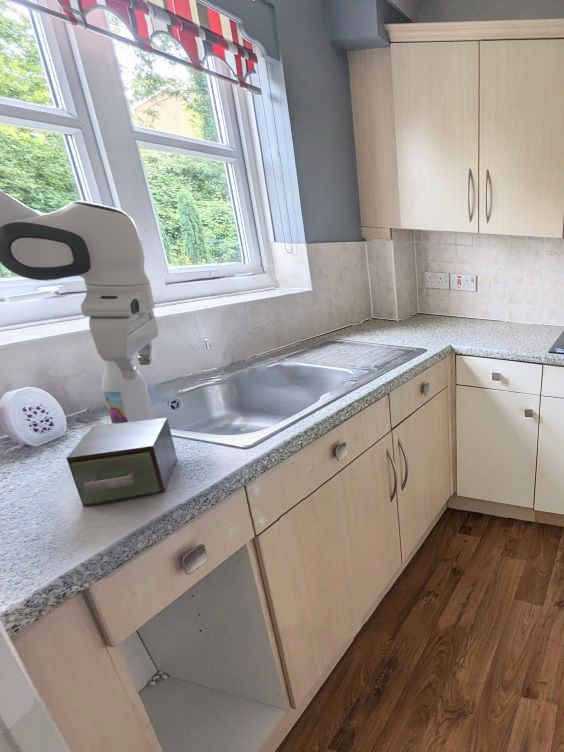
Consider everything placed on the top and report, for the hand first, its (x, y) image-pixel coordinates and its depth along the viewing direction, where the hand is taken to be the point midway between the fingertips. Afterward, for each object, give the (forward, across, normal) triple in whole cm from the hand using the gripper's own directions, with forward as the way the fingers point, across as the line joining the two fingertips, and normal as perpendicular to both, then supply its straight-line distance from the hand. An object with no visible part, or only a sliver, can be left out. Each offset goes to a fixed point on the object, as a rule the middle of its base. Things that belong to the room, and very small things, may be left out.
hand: (138, 370), depth 88 cm
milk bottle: (+21, -22, -10) cm, 32 cm away
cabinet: (+20, +6, -3) cm, 21 cm away
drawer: (+19, +10, -2) cm, 22 cm away
